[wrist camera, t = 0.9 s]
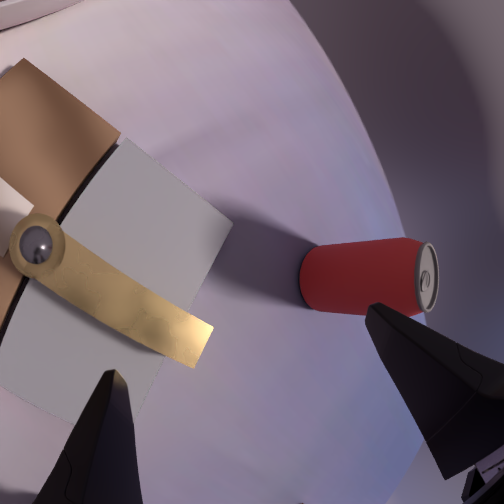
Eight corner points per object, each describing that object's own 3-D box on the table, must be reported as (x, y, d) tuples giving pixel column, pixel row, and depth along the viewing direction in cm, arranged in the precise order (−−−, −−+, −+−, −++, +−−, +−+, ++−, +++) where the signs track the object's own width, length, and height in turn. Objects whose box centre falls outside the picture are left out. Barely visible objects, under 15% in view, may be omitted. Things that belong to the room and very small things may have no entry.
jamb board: (119, 433, 16) (125, 445, 15) (-30, 354, 10) (-36, 361, 9) (223, 226, 23) (235, 223, 21) (101, 129, 17) (105, 118, 16)
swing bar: (7, 257, 12) (-4, 254, 9) (34, 209, 13) (29, 198, 11) (178, 361, 18) (196, 374, 15) (198, 319, 19) (220, 325, 17)
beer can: (287, 261, 27) (410, 254, 17) (327, 236, 30) (433, 224, 21) (307, 323, 28) (421, 336, 18) (342, 291, 32) (443, 293, 22)
